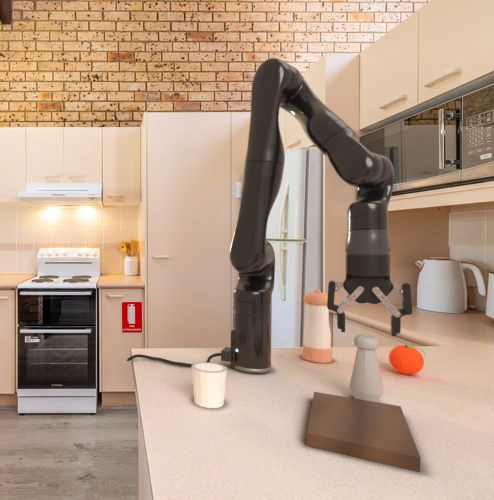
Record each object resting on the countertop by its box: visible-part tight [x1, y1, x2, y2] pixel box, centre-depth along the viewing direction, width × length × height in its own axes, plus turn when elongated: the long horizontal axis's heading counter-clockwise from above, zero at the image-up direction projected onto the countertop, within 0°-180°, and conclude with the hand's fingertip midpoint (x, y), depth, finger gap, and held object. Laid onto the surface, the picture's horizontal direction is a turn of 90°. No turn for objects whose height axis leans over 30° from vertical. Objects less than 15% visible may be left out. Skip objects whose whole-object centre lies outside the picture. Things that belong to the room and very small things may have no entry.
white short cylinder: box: [191, 361, 228, 409], centre depth 77 cm, size 7×7×7 cm
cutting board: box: [306, 391, 421, 472], centre depth 65 cm, size 14×20×2 cm
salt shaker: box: [348, 334, 384, 402], centre depth 78 cm, size 6×6×13 cm
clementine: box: [388, 344, 427, 376], centre depth 95 cm, size 8×7×7 cm
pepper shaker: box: [301, 289, 333, 364], centre depth 108 cm, size 7×7×19 cm
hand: (367, 333), depth 78 cm, fingers open, 8 cm apart
